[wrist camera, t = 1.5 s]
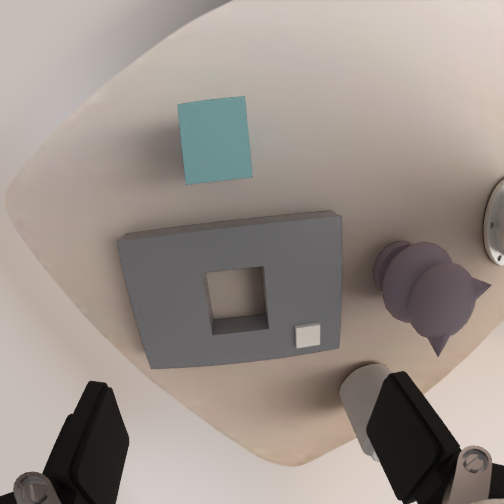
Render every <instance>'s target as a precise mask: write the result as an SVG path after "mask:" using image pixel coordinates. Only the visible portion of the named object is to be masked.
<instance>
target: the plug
mask: <svg viewBox="0 0 504 504" xmlns="http://www.w3.org/2000/svg"><path fill="white" fill-rule="evenodd" d="M178 115H179V126H180V136H181V146H182V155H183V164H184V172H185V181H186V185H190V184H198V183H206V182H214V181H223V180H232V179H241V178H251V177H253V176H252V165H251V155H250V145H249V134H248V124H247V114H246V104H245V96H241V97H230V98H221V99H212V100H204V101H196V102H189V103H183V104H178Z"/></svg>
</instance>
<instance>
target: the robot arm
mask: <svg viewBox="0 0 504 504" xmlns="http://www.w3.org/2000/svg"><path fill="white" fill-rule="evenodd" d="M484 244H485V248H486V251H487V253H488V256H489V257H490V259H491V260H492V261H493V262H495V263H496V264H498V265H500V266H504V179H503V180H502V181H501V182H500V183H499V184H498V185H497V186H496V188H495V189H494V191H493V192H492V195H491V197H490V199H489V202H488V205H487V208H486V213H485V218H484ZM366 433H367V436H368V438H369V440H370V442H371V444H372V446H373V448H374V450H375V453H376V455H377V457H378V459H379V461H380V463H381V465H382V467H383V469H384V472H385V474H386V476H387V478H388V480H389V482H390V484H391V486H392V489H393V491H394V493H395V495H396V497H397V499H398V500H402V502H403V504H410V503H412V502H415V501H417V503H418V504H504V466H503V465H498V464H494V463H492V458H491V456H490V454H489V453H488V451H487V450H485V449H483V448H482V447H479V446H468V447H466V448H464V449H463V450H461V449H460V448H459V447H460V445H459V444H458V442H457V441H456V440H455V438H454V437H453V436H452V434H451V432H450V431H449V430H448V428H447V427H446V426H445V424H444V423H443V421H442V420H441V419H440V417H439V416H438V414H437V413H436V412H435V411H434V409H433V408H432V406H431V405H430V404H429V402H428V401H427V399H426V398H425V397H424V395H423V394H422V393H421V391H420V390H419V389H418V387H417V386H416V385H415V383H414V382H413V381H412V379H411V378H410V377H409V376H408V374H407V373H406V372H404V371H401V372H396V373H391V374H389V375H388V376H387V378H385V379H384V381H383V384H382V386H381V389H380V392H379V395H378V398H377V400H376V403H375V406H374V408H373V411H372V414H371V416H370V419H369V421H368V424H367V426H366ZM128 446H129V436H128V433H127V431H126V428H125V425H124V423H123V420H122V417H121V414H120V411H119V408H118V405H117V402H116V399H115V396H114V393H113V390H112V388H110V387H108V386H107V384H106V383H104V382H96V381H89V382H88V384H87V386H86V388H85V390H84V392H83V394H82V396H81V398H80V400H79V402H78V404H77V407H76V409H75V411H74V413H73V414H70V415H68V417H67V418H66V420H65V423H64V425H63V427H62V429H61V431H60V433H59V436H58V438H57V440H56V442H55V445H54V447H53V449H52V452H51V454H50V456H49V459H48V461H47V463H46V466H45V468H44V470H43V473H42V474H41V473H38V472H26V473H24V474H22V475H20V476H19V477H18V478H17V479H16V481H15V483H14V488H13V489H14V492H11V493H8V494H5V495H2V496H0V504H116V500H117V495H118V490H119V485H120V481H121V476H122V472H123V467H124V463H125V459H126V455H127V451H128Z"/></svg>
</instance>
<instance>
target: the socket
mask: <svg viewBox="0 0 504 504" xmlns="http://www.w3.org/2000/svg"><path fill="white" fill-rule="evenodd" d="M117 246H118V251H119V255H120V260H121V264H122V269H123V273H124V277H125V281H126V286H127V290H128V293H129V297H130V301H131V305H132V309H133V312H134V316H135V319H136V323H137V326H138V330H139V333H140V336H141V340H142V343H143V346H144V349H145V352H146V355H147V358H148V361H149V364H150V367H151V369H167V368H186V367H201V366H214V365H225V364H235V363H244V362H253V361H261V360H269V359H277V358H284V357H291V356H297V355H304V354H310V353H316V352H321V351H327V350H333V349H338V348H339V344H340V326H341V300H342V216H340V215H338V214H336V213H335V212H333V211H319V212H308V213H297V214H287V215H277V216H267V217H257V218H248V219H239V220H230V221H221V222H213V223H204V224H196V225H188V226H180V227H172V228H164V229H156V230H149V231H142V232H134V233H127V234H126V235H124V236H123V237H122V238H121V239H119V240H118V241H117ZM260 266H261V268H262V279H263V290H264V302H265V313H266V314H263V315H255V316H246V317H237V318H228V319H218V320H213V315H212V309H211V303H210V297H209V291H208V285H207V278H206V272H216V271H225V270H234V269H242V268H251V267H260Z"/></svg>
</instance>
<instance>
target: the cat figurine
mask: <svg viewBox="0 0 504 504" xmlns="http://www.w3.org/2000/svg"><path fill="white" fill-rule="evenodd" d="M374 280H375V283H376V286H377V287H378V288H379V289H380V290H381V291H382V292H383V294H382V295H383V299H384V302H385V306H386V308H387V310H388V311H389V312H390V313H391V315H392V316H393V317H394V318H396V319H398V320H400V321H403V322H406V323H411V325H412V326H413V327H414V329H415V330H416V331H417V333H418V334H420V335H421V336H424V337H426V338H428V340H429V342H430V343H431V345H432V347H433V349H434V351H435V353H436V355H437V356H438V357H439V355H440V353H441V351H442V350H443V348H444V346H445V344H446V342H447V340H448V338H449V337H450V336H451V335H454V334H455V333H456V332H458V331H459V330H460V329H461V328H462V327H463V326H464V325H465V324H466V323H467V321H468V320H469V318H470V316H471V314H472V312H473V309H474V306H475V301H476V299H477V298H478V297H480V296H481V295H482V294H483V293H484V292H485V291H486V290H487V289H488V288H489V287H490V286H491V285H490V284H488V283H485V282H483V281H480V280H478V279H475V278H473V277H471V275H470V274H469V272H468V271H467V270H465V269H464V268H463V267H461V266H460V265H458V264H453V263H452V261H451V259H450V257H449V255H448V253H447V252H446V251H445V250H444V249H442V248H441V247H440V246H438V245H437V244H434V243H428V242H420V243H417V244H411V243H409V242H405V241H399V242H394V243H392V244H390V245H389V246H387V247H386V248H385V249H384V250H383V251H382V252H381V253H380V255H379V257H378V258H377V260H376V263H375V266H374Z"/></svg>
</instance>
